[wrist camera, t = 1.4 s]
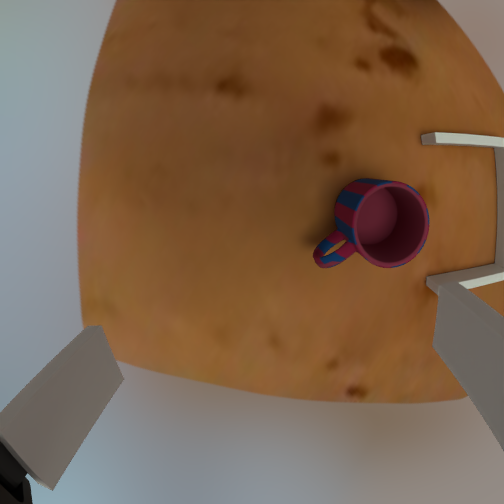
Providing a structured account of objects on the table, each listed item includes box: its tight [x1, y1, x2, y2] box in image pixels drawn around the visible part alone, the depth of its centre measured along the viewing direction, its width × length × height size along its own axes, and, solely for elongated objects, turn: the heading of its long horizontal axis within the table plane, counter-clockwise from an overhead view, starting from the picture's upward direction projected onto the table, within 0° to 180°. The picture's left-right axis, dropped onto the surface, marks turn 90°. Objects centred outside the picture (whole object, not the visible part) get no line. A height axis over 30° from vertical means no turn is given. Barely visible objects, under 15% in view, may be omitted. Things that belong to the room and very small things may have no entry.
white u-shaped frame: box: [421, 132, 504, 295], centre depth 24 cm, size 16×12×3 cm
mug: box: [313, 179, 429, 268], centre depth 24 cm, size 7×10×7 cm
